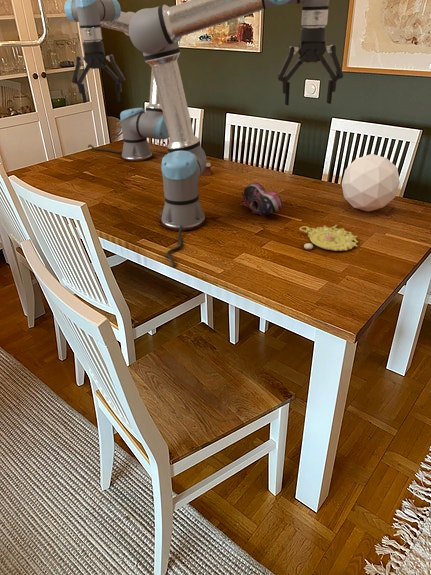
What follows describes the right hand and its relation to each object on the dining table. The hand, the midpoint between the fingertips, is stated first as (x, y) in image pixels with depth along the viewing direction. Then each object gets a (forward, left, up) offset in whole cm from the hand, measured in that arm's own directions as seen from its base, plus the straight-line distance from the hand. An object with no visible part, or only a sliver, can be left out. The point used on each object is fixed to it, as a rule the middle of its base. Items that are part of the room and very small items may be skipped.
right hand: (307, 103), depth 142 cm
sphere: (-3, -24, -37) cm, 44 cm away
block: (+50, +28, -37) cm, 68 cm away
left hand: (+48, +69, -4) cm, 84 cm away
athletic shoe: (+3, +15, -37) cm, 40 cm away
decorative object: (-24, -2, -37) cm, 44 cm away
